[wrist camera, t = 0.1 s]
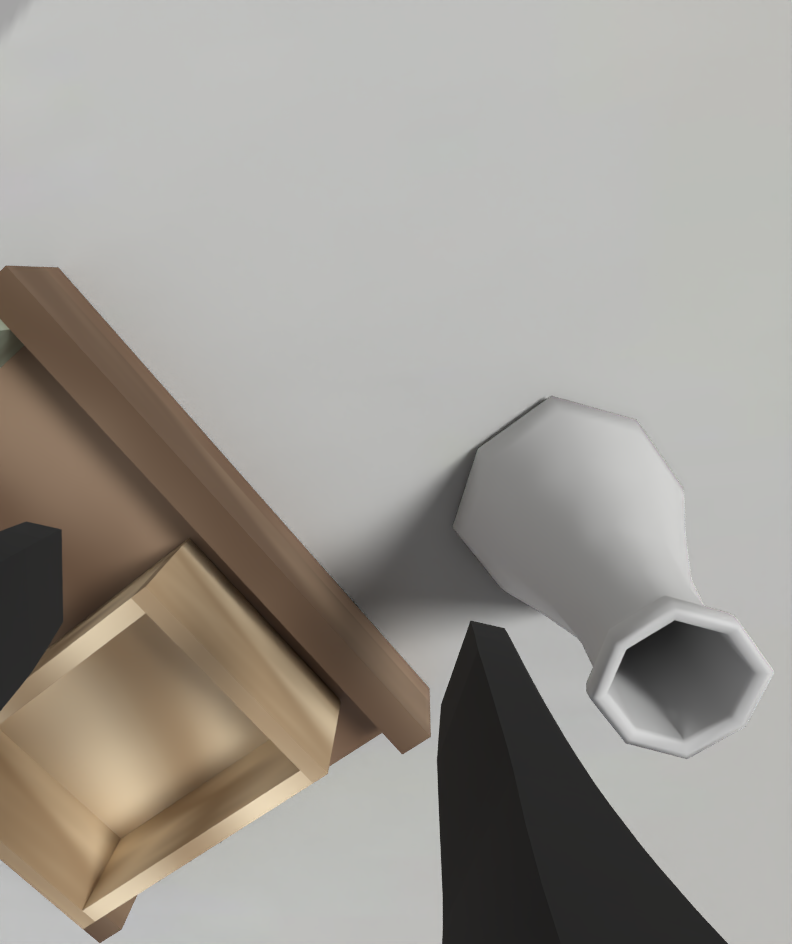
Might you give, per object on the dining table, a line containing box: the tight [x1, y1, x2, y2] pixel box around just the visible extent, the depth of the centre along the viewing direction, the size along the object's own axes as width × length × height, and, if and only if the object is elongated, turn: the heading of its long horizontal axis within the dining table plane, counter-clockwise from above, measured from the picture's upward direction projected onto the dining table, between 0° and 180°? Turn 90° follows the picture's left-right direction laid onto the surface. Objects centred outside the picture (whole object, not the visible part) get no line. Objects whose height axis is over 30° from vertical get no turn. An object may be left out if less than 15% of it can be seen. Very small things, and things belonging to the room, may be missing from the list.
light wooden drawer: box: [0, 538, 341, 929], centre depth 21 cm, size 11×8×4 cm
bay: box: [0, 266, 431, 943], centre depth 21 cm, size 16×19×4 cm
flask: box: [453, 396, 774, 759], centre depth 17 cm, size 7×7×10 cm
